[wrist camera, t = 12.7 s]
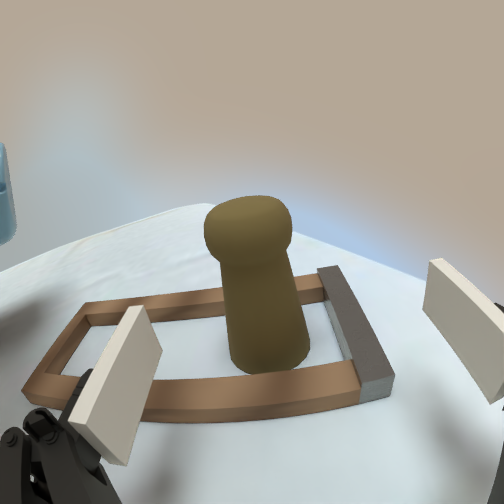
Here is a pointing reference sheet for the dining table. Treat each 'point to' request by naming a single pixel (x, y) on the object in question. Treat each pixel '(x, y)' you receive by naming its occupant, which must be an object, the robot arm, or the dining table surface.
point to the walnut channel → (207, 389)
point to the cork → (258, 283)
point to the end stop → (356, 336)
